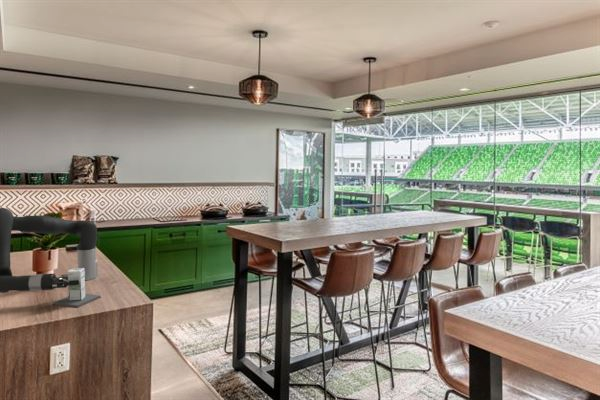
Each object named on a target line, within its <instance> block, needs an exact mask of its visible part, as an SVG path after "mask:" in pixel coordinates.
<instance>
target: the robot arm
mask: <svg viewBox="0 0 600 400" xmlns="http://www.w3.org/2000/svg"><path fill="white" fill-rule="evenodd" d="M13 231H14V232H15V231H17V232H26V233H35V234H36V233H37V234H45V235H46V234H48V235H58V234H69V235H74V236H79V237H80V242H79V243H78V244H77V245H76V246H77V247H76V249H77V251H76V254H77V268H84V271H85V281H88V280H89V281H90V280H95V279H96V278H97V277H99V274H98V273H99V272H98V271H99V269H98V268H99V267H98V260H97V254H96V251H97V249H96V245H97V242H98V228H97V225H96V223H95V222H93V221H90V220H73V219H72V220H68V219H63V218H60V217H57V216H49V215H38V214H37V215H28V216H27V215H26V216H14V213H13V212H12V211H11V210H10V209H8V208H5V207H0V294H5V293H8V292H10V291H11V292H12V291H17V292H29V291H34V292H35V291H36V292H37V291H50V290H51V291H52V290H54V289H61V288H62V289H65V288H68V286H71V285H79V280H71V281H70V282H69V280H68V273H67V274H60V276H56V274H55V273H39V274H29V275H17V276H16V275H13V272H12V269H11V239H12V238H11V237H12V232H13Z"/></svg>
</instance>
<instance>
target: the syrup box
mask: <svg viewBox="0 0 600 400" xmlns="http://www.w3.org/2000/svg"><path fill="white" fill-rule="evenodd" d="M67 274H68V280H69V282H70V281H71V280H79V285H71V286H67V289H68V290H67V291H68V296H69V301H76V300H82V299H83V298H84V297H85V294H86V280H85V271H84V268H78V267H77V268H70V269H69V270H68V271H67Z"/></svg>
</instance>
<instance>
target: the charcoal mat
mask: <svg viewBox="0 0 600 400" xmlns="http://www.w3.org/2000/svg"><path fill="white" fill-rule="evenodd" d="M101 298H102V297H101V294H99V295H97V294H91V293H85V297H84V298H83V299H82V300H76V301H69V295H68V296H65V297H64V298H61V299H58V300H55V301H54V302H52V304H53V305H56V306H64V307H69V308H70V307H71V308H72V307H73V308H80V307H82V306H84V305H86V304H89V303H93V302H94V301H96V300H98V299H101Z"/></svg>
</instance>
